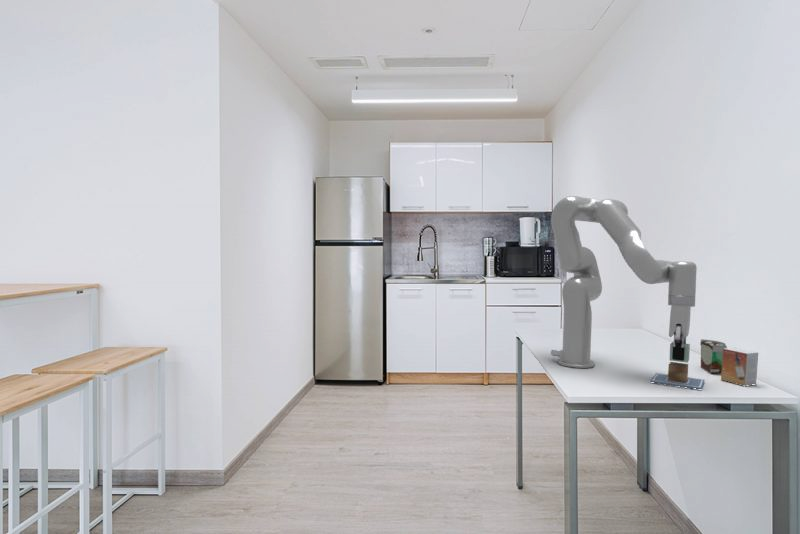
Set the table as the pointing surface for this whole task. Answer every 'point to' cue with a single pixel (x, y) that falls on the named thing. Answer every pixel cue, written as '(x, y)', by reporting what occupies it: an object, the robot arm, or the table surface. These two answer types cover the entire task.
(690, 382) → the board
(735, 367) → the small box
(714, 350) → the food container
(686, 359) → the sage block
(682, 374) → the walnut block
